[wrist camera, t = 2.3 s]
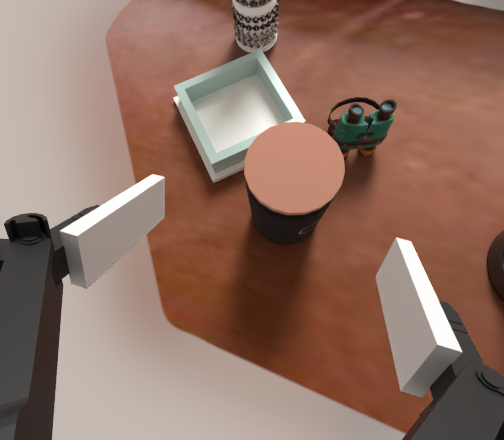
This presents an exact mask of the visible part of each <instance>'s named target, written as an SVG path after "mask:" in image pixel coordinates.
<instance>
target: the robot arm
mask: <svg viewBox="0 0 504 440" xmlns="http://www.w3.org/2000/svg"><path fill="white" fill-rule="evenodd" d="M164 218H165V177H162V176H158V175H154V174H152V175H150V176H149V177H147V178H146V179H144V180H142V181H141V182H139V183H137V184H136V185H134V186H132V187H131V188H129V189H128V190H126V191H124V192H123V193H121V194H119V195H118V196H116V197H114V198H113V199H111V200H110V201H108V202H106V203H104V204H103V205H101V206H100V205H96V206H93V207H89V208H86V209H84V210H83V211H81V212H79V213H78V214H76V215H74V216H72V217H71V219H67V220H66V221H64V222H62V223H61V224H59V225H57V226H55V227H54V228H52V229H49V225H48V221H47V218H46V217H45V216H44V215H42V214H37V213H28V214H21V215H18V216H14V217H12V218H10V219H9V220H7V221H6V222H5V223H4V226H5V229H6V231H7V234H8V237H9V239H0V440H52V429H53V414H54V402H55V389H56V375H57V362H58V348H59V333H60V321H61V307H62V294H63V282H62V278H64V277H65V276H66V275H67V274H69V275H70V280H71V284H74V285H77V286H80V287H83V288H86V289H87V288H88V287H89V286H91V285H92V284H93V283H94V282H95V281H96V280H97V279H98V278H99V277H100V276H101V275H102V274H104V273H105V272H106V271H107V270H108V269H109V268H110V267H111V266H112V265H113V264H115V263H116V262H117V261H118V260H119V259H120V258H121V257H122V256H123V255H124V254H125V253H127V252H128V251H129V250H130V249H131V248H132V247H133V246H134V245H135V244H136V243H138V242H139V241H140V240H141V239H142V238H143V237H144V236H145V235H146V234H147V233H148V232H150V231H151V230H152V229H153V228H154V227H155V226H156V225H157V224H158V223H159V222H160V221H162V220H163V219H164ZM488 272H489V276H490V279H491V282H492V284H493V286H494V288H495V290H496V291H497V293H498V294H499V296H500V297H501V298H502V300H503V301H504V231H503V232H501V233H500V234H499V235H498V236H497V237H496V238H495V240H494V241H493V243H492V245H491V247H490V250H489V253H488ZM376 281H377V285H378V290H379V295H380V299H381V304H382V308H383V313H384V317H385V322H386V327H387V331H388V336H389V340H390V345H391V350H392V354H393V359H394V363H395V368H396V372H397V377H398V382H399V386H400V391H402V392H406V393H409V394H412V395H415V396H418V397H421V398H422V397H423V396H424V395H425V394H426V393H427V392H428V390H429V389H430V390H431V393H432V397H433V401H432V402H431V403H430V404H429V405H428V407H427V408H426V409H425V410H424V411H423V412H422V413H421V414H420V415H419V416H420V417H419V418H418V420H417V421H416V422H415V424H414V425H413V426H412V427H411V429H410V430H409V431H408V433H407V434H406V435H405V436H404V438H403V439H402V440H504V378H503V377H502V376H501V375H499V374H498V373H497V372H496V371H495V370H493V369H491V368H490V367H488V366H486V365H484V363H483V361H482V359H481V357H480V355H479V353H478V351H477V350H476V348H475V346H474V344H473V342H472V340H471V338H470V336H469V335H468V332H467V330H466V328H465V326H463V323H462V321H461V319H460V317H459V315H458V313H457V312H456V311H455V310H454V309H453V308H452V307H451V306H450V305H449V304H448V303H446V302H442V301H439V300H438V298H437V296H436V294H435V292H434V290H433V288H432V285H431V283H430V281H429V279H428V277H427V275H426V272H425V270H424V268H423V266H422V264H421V262H420V260H419V257H418V255H417V253H416V251H415V249H414V247H413V245H412V242H411V241H408V240H404V239H400V238H395V240H394V242H393V244H392V246H391V248H390V250H389V252H388V254H387V256H386V258H385V260H384V261H383V263H382V265H381V267H380V269H379V271H378V273H377V275H376Z"/></svg>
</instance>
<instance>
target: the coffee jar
mask: <svg viewBox="0 0 504 440" xmlns="http://www.w3.org/2000/svg"><path fill="white" fill-rule="evenodd" d="M344 174H345V165H344V156H343V154H342V152H341V150H340V148H339V146H338V144H337V143H336V142H335V141H334V140H333V138H332V137H331V136H330V135H329V134H328V133H327V132H325V131H323V130H321V129H319V128H318V127H316V126H314V125H310V124H306V123H301V122H287V123H281V124H278V125H275V126H272V127H269V128H268V129H267V130H265V131H264V132H262V133H261V134H259V135H258V136H257V137H256V139H255V140H254V141H253V142H252V144H251V145H250V146H249V148H248V151H247V154H246V157H245V160H244V176H245V179H246V187H247V192H248V197H249V202H250V207H251V212H252V217H253V220H254V223H255V226H256V228H257V229H258V230H259V232H260V233H261V234H262V235H263V236H264V237H265V238H267V239H268V240H270V241H272V242H275V243H279V244H293V243H296V242H299V241H302V240H303V239H305V238H306V237H307V236H308V235H310V234H311V232H312V231H313V229H314V228H315V226H316V225H317V223H318V222H319V220H320V219H321V217H322V215H323V214H324V212H325V211H326V209H327V208H328V206H329V205H330V203H331V202H332V200H333V199H334V197H335V195H336V193H337V192H338V190H339V189H340V187H341V186H342V182H343V178H344Z"/></svg>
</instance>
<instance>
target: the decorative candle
mask: <svg viewBox="0 0 504 440" xmlns="http://www.w3.org/2000/svg"><path fill="white" fill-rule="evenodd" d="M278 2H279V0H232V5H233V6H232V11H233V13H234V14H233V19H234V28H235V35H236V41H237V43H238V46H239V47H240V48H241V49H243V50H244V51H246V52H249V53H252V52H254V51H257V50H259V49H261V50H262V52H265V51H268V50H269V49H270V48H271V47H273V46H274V44H275V42H276V41H277V32H278V30H276V27H278V22H276V20H278V12H277V11H278V7H279V5H278Z"/></svg>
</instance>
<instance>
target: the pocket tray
mask: <svg viewBox="0 0 504 440" xmlns="http://www.w3.org/2000/svg"><path fill="white" fill-rule="evenodd" d="M174 87H175V90H176V92H177V94H178V96H176V97H174V101H175V103H176V105H177V107H178V109H179V111H180V113H181V115H182V118H183V120H184V122H185V124H186V126H187V128H188V130H189V132H190V135H191V137H192V139H193V141H194V143H195V145H196V147H197V149H198V151H199V154H200V156H201V158H202V160H203V162H204V164H205V166H206V168H207V171H208V173H209V175H210V177H211V179H212V181H213V183H215V182H217V181H220V180H222V179H224V178H226V177H228V176H230V175H233V174H235V173H237V172H239V171H241V170H244V160H245V157H246V154H247V151H248V148H249V146H250V145H251V144H252V142H253V141H254V140H255V139H256V137H257V136H258V135H259V134H261V133H262V132H264V131H265V130H267V129H268V128H269V127H272V126H275V125H278V124H281V123H287V122H301V123H306V121H305V119H304V118H303V116H302V115H301V113H300V111H299V110H298V108H297V106H296V105H295V103H294V102H293V100H292V98H291V97H290V95H289V94H288V92H287V90H286V89H285V87H284V85H283V84H282V82H281V81H280V79H279V77H278V76H277V74H276V73H275V71H274V69H273V68H272V66H271V64H270V63H269V61H268V60H267V58H266V56H265V55H264V53H263V52H262V50H261V49H259V50H257V51H254V52H252V53H250V54H247V55H245V56H243V57H240V58H238V59H236V60H233V61H231V62H229V63H226V64H224V65H222V66H219V67H217V68H215V69H212V70H210V71H208V72H205V73H203V74H201V75H199V76H196V77H194V78H192V79H189V80H187V81H185V82H182V83H180V84H178V85H175V86H174Z"/></svg>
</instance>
